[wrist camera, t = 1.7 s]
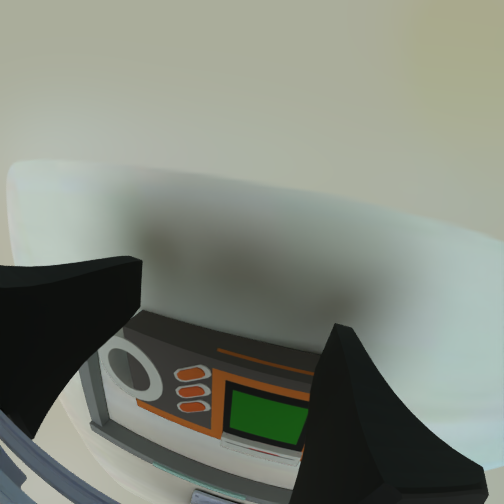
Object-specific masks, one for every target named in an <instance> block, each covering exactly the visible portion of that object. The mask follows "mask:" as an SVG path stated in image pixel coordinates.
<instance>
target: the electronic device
mask: <svg viewBox="0 0 504 504" xmlns="http://www.w3.org/2000/svg"><path fill="white" fill-rule="evenodd" d="M98 353H99V357H100V360H101V363H102V365H103V367H104V369H105V370H106V372H107V374H108V375H109V376H110V378H111V379H112V380H113V381H114V382H115V383H116V384H117V385H118V386H119V387H120V388H121V389H122V390H124V391H125V392H126V393H128V394H130V395H131V396H133V397H135V398H136V401H137V405H138V406H140V407H142V408H144V409H146V410H148V411H150V412H152V413H154V414H157V415H159V416H161V417H163V418H166V419H168V420H170V421H173V422H175V423H177V424H180V425H182V426H185V427H187V428H190V429H192V430H195V431H198V432H200V433H203V434H206V435H209V436H211V437H214V438H217V439H220V440H221V443H220V446H222V447H225V448H228V449H231V450H234V451H238V452H241V453H244V454H248V455H251V456H255V457H258V458H262V459H266V460H270V461H274V462H278V463H282V464H287V465H291V466H296V467H297V465H298V463H299V461H301V460H302V456H303V450H304V445H305V436H306V427H307V418H308V408H309V397H310V390H311V385H312V380H313V376H314V371H315V367H316V365H317V363H318V361H319V359H320V356H321V355H317V354H312V353H307V352H303V351H298V350H294V349H289V348H285V347H281V346H276V345H272V344H268V343H264V342H260V341H256V340H252V339H248V338H244V337H239V336H235V335H231V334H227V333H223V332H219V331H215V330H211V329H207V328H204V327H200V326H196V325H192V324H189V323H185V322H182V321H178V320H175V319H171V318H168V317H164V316H161V315H158V314H154V313H151V312H148V311H145V310H142V311H141V312H139V313H138V314H137V315H135V316H134V317H133V318H132V319H130V320H129V321H128V322H127V324H126V325H125V326H124V327H123V328H121V329H120V330H119V331H118V332H117V333H116V334H115V335H114V336H113V337H112V338H111V339H109V340H108V341H107V342H106V343H105V344H104V345H103V346H102V347H101V348H99V349H98Z"/></svg>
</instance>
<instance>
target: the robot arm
mask: <svg viewBox="0 0 504 504" xmlns="http://www.w3.org/2000/svg"><path fill="white" fill-rule="evenodd" d="M141 279H142V260H140V259H137V258H134V257H132V256H117V257H109V258H102V259H96V260H90V261H83V262H76V263H68V264H61V265H51V266H33V267H24V266H2V265H0V439H1V440H2V441H3V442H4V443H5V444H6V445H7V447H8V448H9V449H10V450H11V451H12V452H14V453H15V454H16V456H17V457H19V458H20V459H21V460H22V461H23V462H24V463H25V464H26V465H27V466H28V467H29V468H30V469H31V470H33V471H34V472H35V473H36V474H37V475H38V476H39V477H41V478H42V479H43V480H44V481H45V482H47V483H48V484H49V485H50V486H52V487H53V488H54V489H56V490H57V491H58V492H59V493H61V494H62V495H63V496H65V497H66V498H67V499H69V500H70V501H72V502H73V503H74V504H120V503H119V502H117V501H115V500H113V499H111V498H110V497H108V496H107V495H105V494H103V493H102V492H100V491H98V490H97V489H95V488H93V487H92V486H91V485H89V484H88V483H86V482H85V481H83V480H82V479H80V478H79V477H77V476H76V475H74V474H73V473H72V472H70V471H69V470H68V469H66V468H65V467H63V466H62V465H61V464H60V463H58V462H57V461H56V460H54V459H53V458H52V457H51V456H50V455H48V454H47V453H46V452H45V451H43V450H42V449H41V448H40V447H39V446H38V445H36V444H35V443H34V442H33V441H32V439H34V437H35V435H36V433H37V431H38V429H39V427H40V425H41V423H42V422H43V420H44V418H45V416H46V414H47V413H48V411H49V410H50V408H51V406H52V405H53V403H54V402H55V400H56V399H57V397H58V396H59V394H60V393H61V392H62V390H63V389H64V387H65V386H66V385H67V383H68V382H69V381H70V379H71V378H72V377H73V376H74V375H75V373H76V372H77V371H78V370H79V369H80V367H81V366H82V365H83V364H84V363H85V362H86V361H87V360H88V359H89V358H90V357H91V356H92V355H93V354H94V353H95V352H96V351H97V350H98V349H99V348H101V347H102V346H103V345H104V344H105V343H106V342H107V341H108V340H109V339H111V338H112V337H113V336H114V335H115V334H116V333H117V332H118V331H119V330H120V329H121V328H123V327H124V326H125V325H126V324H127V322H128V321H129V320H130V319H131V318H132V317H133V315H134V314H135V313H136V311H137V310H138V309H139V308H140V304H141ZM26 479H27V477H26V475H25V474H24V473H23V472H22V471H21V470H20V469H19V468H18V467H17V466H16V465H15V463H14V462H13V461H12V460H11V459H10V457H9V456H8V455H7V454H6V453H5V451H4V450H3V449H2V447H1V446H0V504H37V503H36V502H34V501H33V500H32V499H31V498H30V497H29V496H27V494H25V493H24V492H23V491H22V490H21V485H22V484H23V483H24V482H25V480H26ZM488 495H489V494H488V488H487V484H486V479H485V474H484V470H483V467H482V466H480V465H478V464H477V463H475V462H473V461H472V460H470V459H469V458H467V457H465V456H464V455H462V454H460V453H459V452H457V451H456V450H454V449H453V448H452V447H450V446H449V445H448V444H446V443H445V442H444V441H442V440H441V439H440V438H439V437H437V436H436V435H435V434H434V433H433V432H432V431H430V430H429V429H428V428H427V427H426V426H425V425H424V424H423V423H422V422H421V421H420V420H419V419H418V418H417V417H416V416H415V415H414V414H413V413H412V412H411V411H410V410H409V409H408V408H407V407H406V406H405V405H404V403H403V402H402V401H401V400H400V399H399V398H398V396H397V395H396V394H395V393H394V391H393V390H392V389H391V388H390V386H389V385H388V383H387V382H386V381H385V379H384V378H383V376H382V375H381V374H380V372H379V371H378V369H377V368H376V366H375V365H374V363H373V361H372V360H371V358H370V357H369V355H368V353H367V352H366V350H365V348H364V347H363V345H362V343H361V342H360V340H359V338H358V337H357V335H356V333H355V332H354V330H353V329H352V328H351V327H347V326H343V325H340V324H336V323H335V324H334V327H333V329H332V331H331V334H330V336H329V338H328V341H327V343H326V345H325V348H324V350H323V352H322V354H321V356H320V359H319V361H318V363H317V365H316V367H315V371H314V376H313V380H312V385H311V390H310V397H309V408H308V418H307V427H306V436H305V445H304V450H303V456H302V460H301V464H300V467H299V471H298V475H297V479H296V482H295V485H294V489H293V492H292V495H291V498H290V501H289V504H484V502H485V501H486V499H487V497H488ZM191 504H237V503H234V502H230V501H227V500H224V499H221V498H218V497H215V496H212V495H209V494H207V493H204V492H201V491H198V490H194V492H193V495H192V500H191Z"/></svg>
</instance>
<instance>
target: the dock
mask: <svg viewBox="0 0 504 504" xmlns="http://www.w3.org/2000/svg"><path fill="white" fill-rule="evenodd" d="M79 374H80V378H81V382H82V387H83V391H84V394H85V398H86V402H87V406H88V409H89V412H90V416H91V419H92V421H91V422H90V426H91V429H92V430H93V431H94V432H96V433H97V434H99V435H100V436H102V437H104V438H105V439H107V440H109V441H110V442H112V443H114V444H115V445H117V446H119V447H120V448H122V449H124V450H126V451H128V452H129V453H131V454H133V455H135V456H137V457H139V458H141V459H143V460H145V461H147V462H149V463H151V464H153V466H155V467H157V468H159V469H161V470H164V471H166V472H168V473H170V474H172V475H175V476H177V477H179V478H182V479H184V480H187V481H189V482H192V483H194V484H197V485H199V486H202V487H205V488H207V489H210V490H213V491H216V492H219V493H222V494H225V495H228V496H231V497H234V498H238V499H241V500H247V501H251V502H255V503H258V504H289V501H290V498H291V495H292V492H293V491H292V490H287V489H283V488H279V487H274V486H270V485H266V484H263V483H259V482H255V481H252V480H248V479H245V478H242V477H238V476H235V475H232V474H229V473H226V472H223V471H220V470H217V469H215V468H212V467H209V466H206V465H204V464H201V463H199V462H196V461H194V460H191V459H189V458H186V457H184V456H181V455H179V454H177V453H175V452H172V451H170V450H168V449H166V448H164V447H161V446H159V445H157V444H155V443H153V442H151V441H149V440H147V439H145V438H143V437H141V436H139V435H137V434H135V433H133V432H132V431H130V430H128V429H126V428H124V427H123V426H121V425H119V424H117V423H116V422H114V421H112V420H110V419H109V415H108V410H107V406H106V401H105V396H104V390H103V385H102V379H101V373H100V367H99V360H98V353H97V351H96V352H95V353H94V354H93V355H92V356H91V357H90V358H89V359H88V360H87V361H86V362H85V363H84V364H83V365H82V366H81V367H80V369H79Z"/></svg>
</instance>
